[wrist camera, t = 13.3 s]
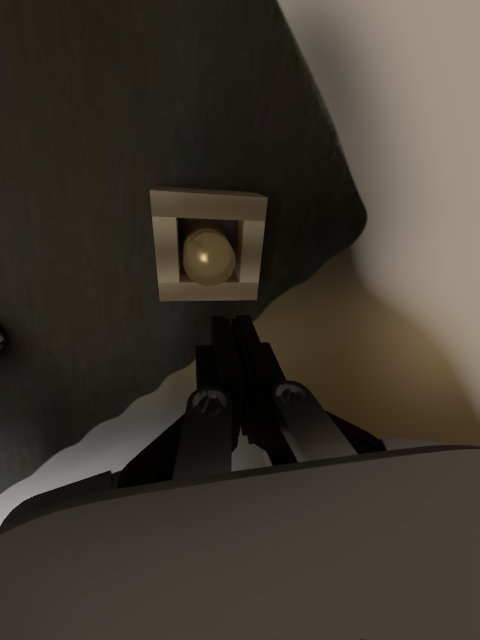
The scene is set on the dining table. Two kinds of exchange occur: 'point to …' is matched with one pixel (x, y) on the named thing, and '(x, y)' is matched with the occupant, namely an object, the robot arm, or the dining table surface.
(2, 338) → the beverage can
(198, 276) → the banded brass cylinder
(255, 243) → the frame
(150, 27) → the dining table surface
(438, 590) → the robot arm
